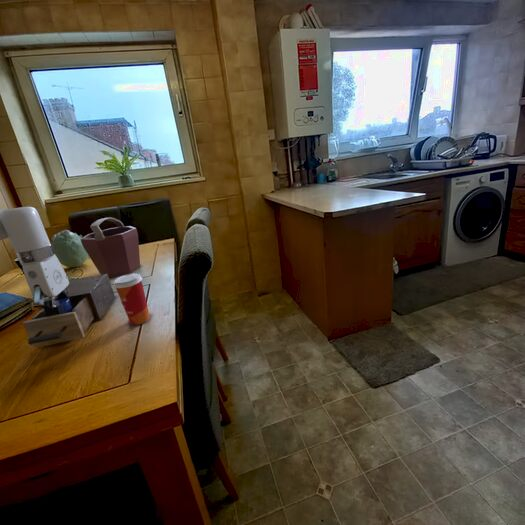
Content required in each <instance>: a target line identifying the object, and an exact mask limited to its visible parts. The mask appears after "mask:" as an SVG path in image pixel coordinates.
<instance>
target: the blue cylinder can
mask: <svg viewBox="0 0 525 525" xmlns="http://www.w3.org/2000/svg"><path fill="white" fill-rule="evenodd" d="M55 305H56V306H58V307H59V310H60V312H61V314H64V313H69V312H72V310H73V309H72V306H71V304H70V301H69V299H67V298H64V299H59V300H55Z"/></svg>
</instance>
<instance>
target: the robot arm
mask: <svg viewBox="0 0 525 525" xmlns="http://www.w3.org/2000/svg"><path fill="white" fill-rule="evenodd" d="M5 239H9V242H10V244H11V246H12V249H13V251H14V252H15V255H16V257H17V260H18V261H19V263H20V265H21V267H22V271H23V275H24V278H25V280H26V283H27V286H28V288H29V291H30V293H31V295H32V296H33V304H34V305H35V306H38V307H39V308H41V310H42V309H43V310H45V312H46V315H47V317H49V316H54V315H59V314H61V312H60V310H59V307H58V306H56V305H55V300H54V297H58V298H56V300H59V299H64V298H67V299H69V297H68V296H67V295H68V292H67V286H68V285H69V281H68V280H69V278H68V276H67V273H66V271H65V269H64V267H63V265H62V264H61V263H60V262H59V260H58V258H57V257H56V255H55V254H54V251H53V249H52V243H51V242H50V239H49V236H48V234H47V231H46V229H45V226H44V225H43V221H42V219H41V216H40V214H39V212H38V210H37V208H35V207H33V206H21V207H15V208H14V207H13V208H0V241H2V240H5ZM45 299H50V302H48V301H45ZM69 301H70V299H69ZM70 304H71V301H70ZM71 306H72V304H71ZM72 307H73V306H72Z"/></svg>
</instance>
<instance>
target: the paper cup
mask: <svg viewBox="0 0 525 525" xmlns="http://www.w3.org/2000/svg"><path fill="white" fill-rule="evenodd" d="M113 288H115V290H116V292H117V294H118V297H119V299H120V303H121V304H122V308H123V309H124V312H125V314H126V316H127V319H128V321H129V323H130V325H132V326H139V325H142V324H145V323H147V322H148V321H149V320H150V319H151V317H150V311H149V307H148V301H147V298H146V294H145V290H144V284H143V277H142V276H141V275H140V273H128V274H125V275H120V276H118V277H117V278H115V280H114V281H113Z"/></svg>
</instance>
